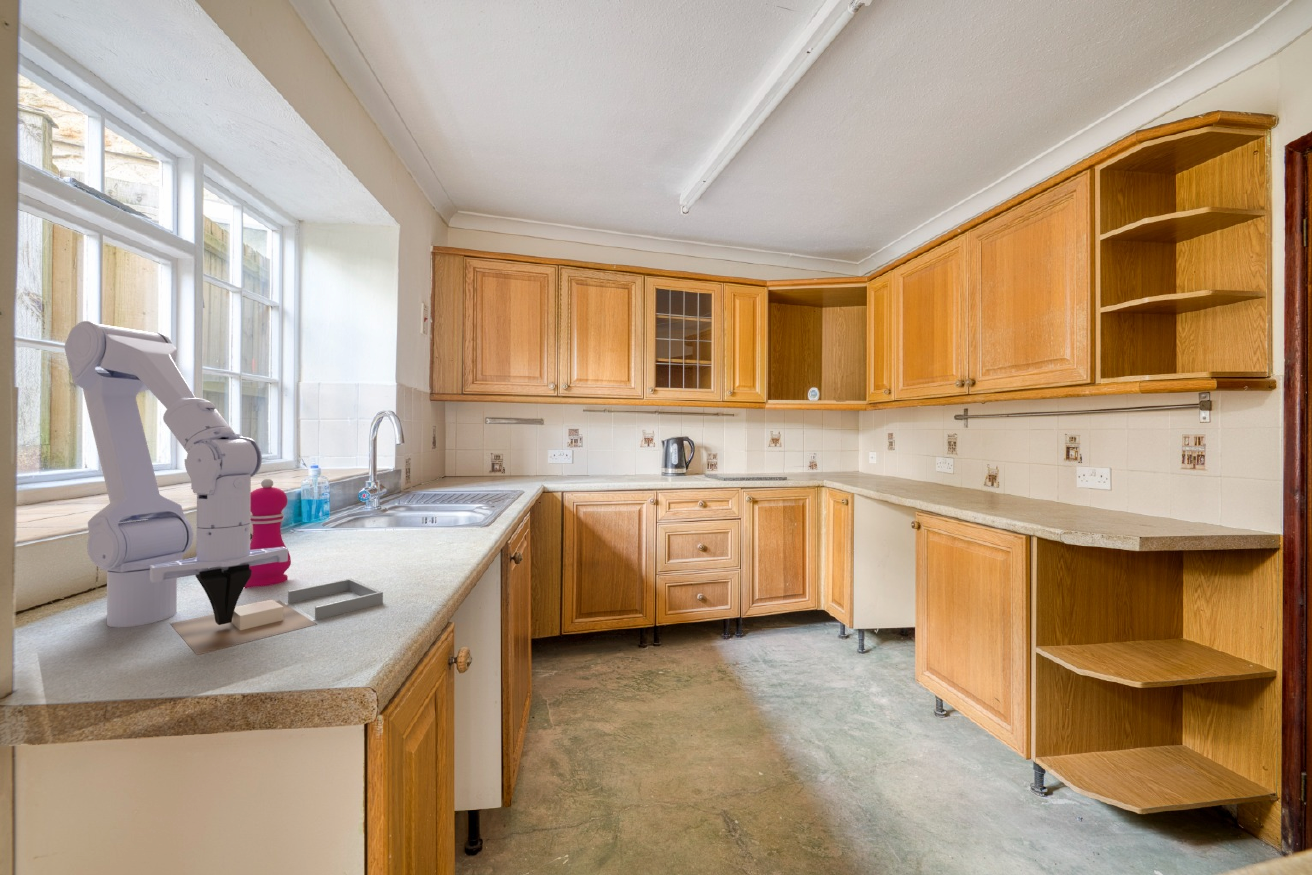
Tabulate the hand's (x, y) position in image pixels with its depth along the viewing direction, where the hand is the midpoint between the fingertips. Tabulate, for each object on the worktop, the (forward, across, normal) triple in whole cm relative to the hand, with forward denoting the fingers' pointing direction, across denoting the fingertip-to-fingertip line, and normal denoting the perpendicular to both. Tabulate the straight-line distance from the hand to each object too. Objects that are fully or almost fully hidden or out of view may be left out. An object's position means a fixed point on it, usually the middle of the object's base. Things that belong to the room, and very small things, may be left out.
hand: (223, 622), depth 71 cm
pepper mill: (+2, +11, +22) cm, 25 cm away
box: (+2, +14, 0) cm, 14 cm away
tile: (+1, +4, 0) cm, 4 cm away
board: (+2, +2, 0) cm, 3 cm away
